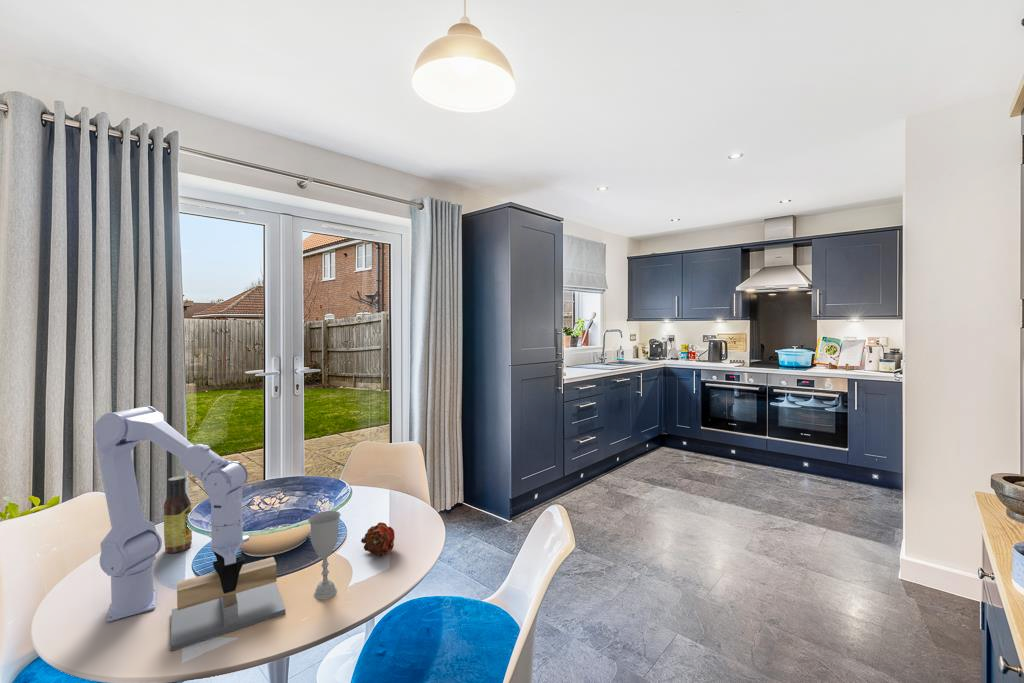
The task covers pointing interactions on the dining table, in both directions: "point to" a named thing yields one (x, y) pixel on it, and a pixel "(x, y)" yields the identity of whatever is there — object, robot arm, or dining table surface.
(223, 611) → the steel ridge
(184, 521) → the sauce bottle
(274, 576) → the oak bar
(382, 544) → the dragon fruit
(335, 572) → the dining table surface
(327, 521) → the chalice
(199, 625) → the slate base plate
